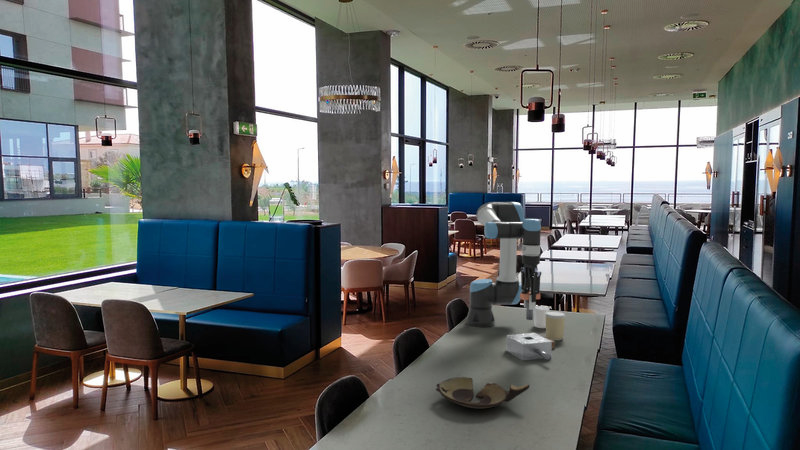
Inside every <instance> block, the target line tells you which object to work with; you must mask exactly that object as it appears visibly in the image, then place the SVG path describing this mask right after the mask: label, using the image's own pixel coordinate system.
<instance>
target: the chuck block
mask: <svg viewBox="0 0 800 450" xmlns="http://www.w3.org/2000/svg"><path fill="white" fill-rule="evenodd" d="M544 337H545V336H542V335H540V334H538V333H536V332H528V333H526V332H525V333H515V334H507V335H506V346H505V347H506V348H505V351H506V352H507V353H510V354H511V355H513V356H514V357H516V358H517V359H518V360H519V359H520V360H521V361H522V362H523V361H530V360H531V361H532V360H540V359H541V360H542V359H546V360H547V361H549V360H551V359H552V349H553V348H552V341H550V340H548V339H546V338H544Z"/></svg>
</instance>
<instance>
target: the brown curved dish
mask: <svg viewBox="0 0 800 450" xmlns="http://www.w3.org/2000/svg"><path fill="white" fill-rule="evenodd" d="M473 381H474V380H473V378H472V377H467V376H465V377H464V376H463V377H459V376H458V377H450V378H448V379H445V380H444V381H442V382H440V383H436V388H435V391H437V392H438V393H439V394H440V395H441V396H442V397H443V398H445V399H446V400H447V401H450V402H452V403H454V404H455V405H456V404H457V405H459V406H462V407H465V408H470V409H475V410H476V409H477V410H478V409H479V410H480V409H488V408H493V407H497V406H499V405H501V404H503V403H508V402H511V401H512V400H513V399H515V398H516V397H518V396H519V395H521V394H522V393H524V392H526V391H527V390H529V388H530V384H525V385H522V386H516V385H513V384H509V390H508V391H506V390H505V389H504V387H502V386H501V385H499V384H497V383H495V382H492V383H486V384H485V385H484V386H483V387H482V388H481V389H480V390H479V391H478V392H477V393H476V394H475V397H476V398H479V399H481V400H478V402H475V401H474V402H473V401H471V400H473V397H474V383H473ZM470 401H471V402H470Z"/></svg>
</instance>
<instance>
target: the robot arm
mask: <svg viewBox="0 0 800 450" xmlns="http://www.w3.org/2000/svg"><path fill="white" fill-rule="evenodd" d="M475 216H476V220H477V221H478V223H480V224H481V225H483V226H484V227H483V229H484V230H483V231H484V237H485V238H486V239H492V240H495V239H500V240H499V275H498V276H497V277H496V280H495V281H496V282H494V281H493V280H492V279H490V278H488V279H487V278H479V279H476V280H473V281H471V282H470V285H469V310H468V313H467V316H466V318H465V323H466V324H467V326H471V327H475V328H476V327H477V328H489V327H490V328H491V327H493V326H495V324H496V319H495V316H494V312H493V305H509V306H510V305H518V304H519V302H520V301H521V299H520V293H523V292H531V293H529V310H533V311H534V309H536V306H537V305H536V302H537V299H536V295H537V294H539V293H540V289H541V288H540V287H541V276H542V271H539V269H538V265H540V264H541V256H540V254H541V232H542V231H541V229H542V225H541V220H540V219H538V218H525V214H524V208H523V206H522V203H520V202H516V201H490V202H486V203H484V204H481V206H479V207H478V209H477V211H476V215H475ZM521 239H522V248H521V250H522V255H521V263H522V264H524V265H523V267H520V272H521V273H520V280H521V281H519V278H518V277H517V253H518V251H517V249H518V245H517V244H518V240H521ZM523 308H525V309H527V300H523Z"/></svg>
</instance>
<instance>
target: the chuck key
mask: <svg viewBox="0 0 800 450" xmlns="http://www.w3.org/2000/svg"><path fill="white" fill-rule="evenodd" d="M529 293H531V292H524V291H522V293H520V300H523V301H524V300H527V307H526V313H525V314H526V315H525V316H526V317H525V319H526V320H527V321H534V309H533V310H529ZM540 299H541V292H539V294H537V295H536V300H540Z"/></svg>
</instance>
